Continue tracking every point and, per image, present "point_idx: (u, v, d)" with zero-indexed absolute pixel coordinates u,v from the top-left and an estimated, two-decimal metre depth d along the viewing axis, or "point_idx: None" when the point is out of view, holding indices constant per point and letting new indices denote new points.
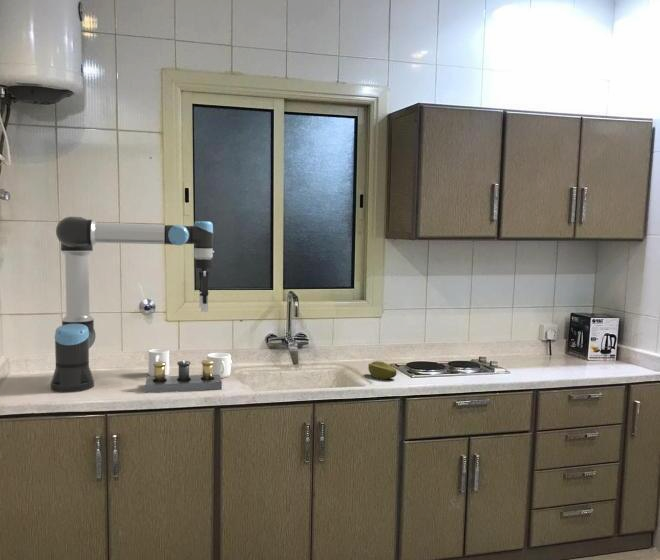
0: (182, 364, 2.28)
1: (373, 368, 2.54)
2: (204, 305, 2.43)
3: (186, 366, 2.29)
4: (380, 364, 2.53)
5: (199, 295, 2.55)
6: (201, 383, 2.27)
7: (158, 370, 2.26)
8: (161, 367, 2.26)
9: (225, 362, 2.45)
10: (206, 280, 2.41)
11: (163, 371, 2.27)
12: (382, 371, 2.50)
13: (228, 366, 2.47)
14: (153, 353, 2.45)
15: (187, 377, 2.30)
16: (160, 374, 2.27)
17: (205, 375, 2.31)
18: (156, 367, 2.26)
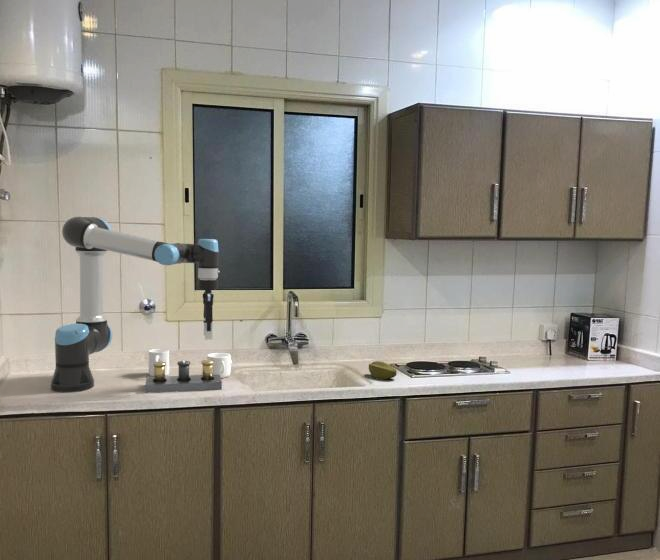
0: (182, 364, 2.28)
1: (373, 368, 2.54)
2: (208, 333, 2.27)
3: (186, 366, 2.29)
4: (380, 364, 2.53)
5: None
6: (201, 383, 2.27)
7: (158, 370, 2.26)
8: (161, 367, 2.26)
9: (225, 362, 2.45)
10: (211, 306, 2.24)
11: (163, 371, 2.27)
12: (382, 371, 2.50)
13: (228, 366, 2.47)
14: (153, 353, 2.45)
15: (187, 377, 2.30)
16: (160, 374, 2.27)
17: (205, 375, 2.31)
18: (156, 367, 2.26)
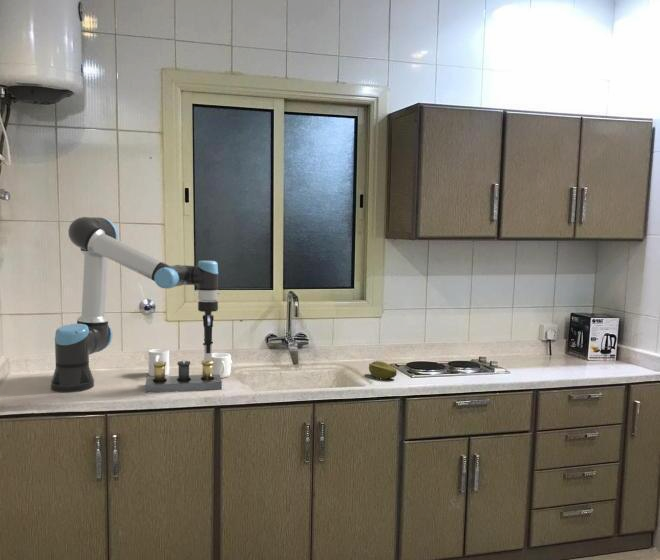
0: (182, 364, 2.28)
1: (373, 368, 2.54)
2: (208, 354, 2.32)
3: (186, 366, 2.29)
4: (380, 364, 2.53)
5: (204, 348, 2.32)
6: (201, 383, 2.27)
7: (158, 370, 2.26)
8: (161, 367, 2.26)
9: (225, 362, 2.45)
10: (211, 330, 2.27)
11: (163, 371, 2.27)
12: (382, 371, 2.50)
13: (228, 366, 2.47)
14: (153, 353, 2.45)
15: (187, 377, 2.30)
16: (160, 374, 2.27)
17: (205, 375, 2.31)
18: (156, 367, 2.26)
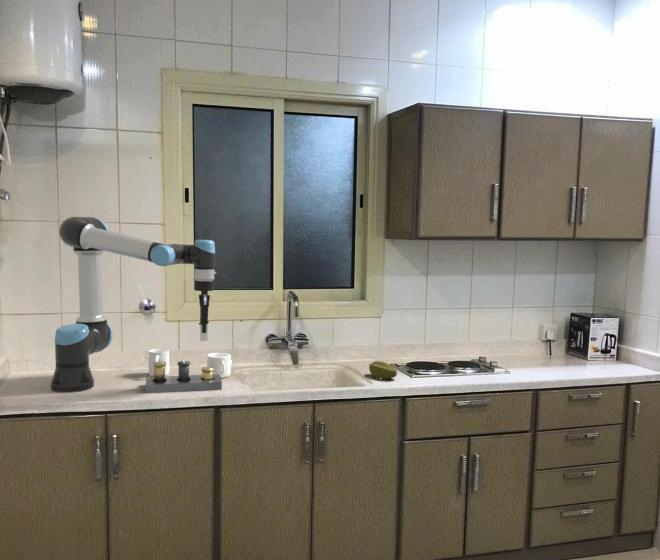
0: (182, 364, 2.28)
1: (373, 368, 2.54)
2: (203, 334, 2.31)
3: (186, 366, 2.29)
4: (380, 364, 2.53)
5: (200, 327, 2.31)
6: (201, 383, 2.27)
7: (158, 370, 2.26)
8: (161, 367, 2.26)
9: (225, 362, 2.45)
10: (207, 309, 2.26)
11: (163, 371, 2.27)
12: (382, 371, 2.50)
13: (228, 366, 2.47)
14: (153, 353, 2.45)
15: (187, 377, 2.30)
16: (160, 374, 2.27)
17: None
18: (156, 367, 2.26)
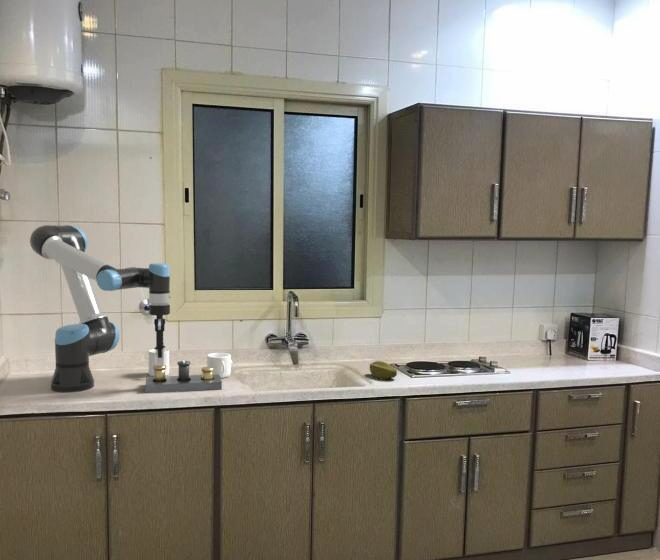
0: (182, 364, 2.28)
1: (374, 368, 2.54)
2: (159, 359, 2.27)
3: (186, 366, 2.29)
4: (381, 364, 2.53)
5: (156, 352, 2.27)
6: (201, 383, 2.27)
7: (158, 373, 2.26)
8: (161, 370, 2.27)
9: (225, 362, 2.45)
10: (161, 334, 2.22)
11: (163, 374, 2.27)
12: (382, 371, 2.50)
13: (228, 366, 2.47)
14: (153, 353, 2.45)
15: (187, 377, 2.30)
16: (160, 377, 2.27)
17: None
18: (156, 370, 2.26)
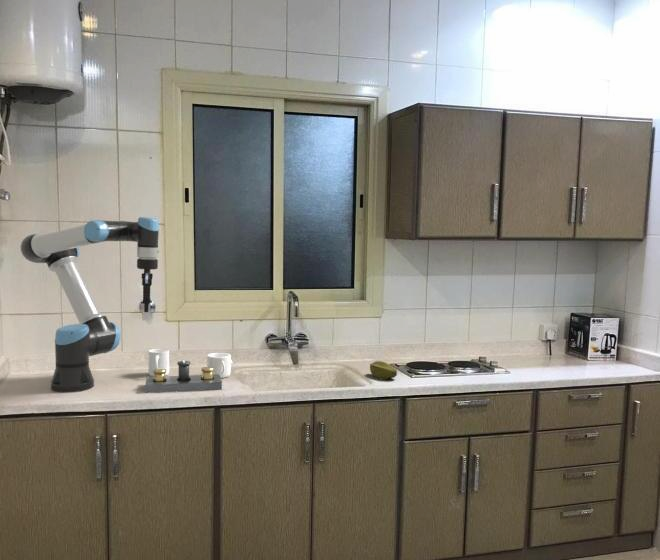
0: (182, 364, 2.28)
1: (374, 368, 2.54)
2: (146, 313, 2.27)
3: (186, 366, 2.29)
4: (381, 364, 2.53)
5: None
6: (201, 383, 2.27)
7: (158, 377, 2.26)
8: (161, 374, 2.27)
9: (225, 362, 2.45)
10: (148, 288, 2.22)
11: (163, 378, 2.27)
12: (382, 371, 2.50)
13: (228, 366, 2.47)
14: (153, 353, 2.45)
15: (187, 377, 2.30)
16: (160, 381, 2.27)
17: None
18: (156, 374, 2.26)
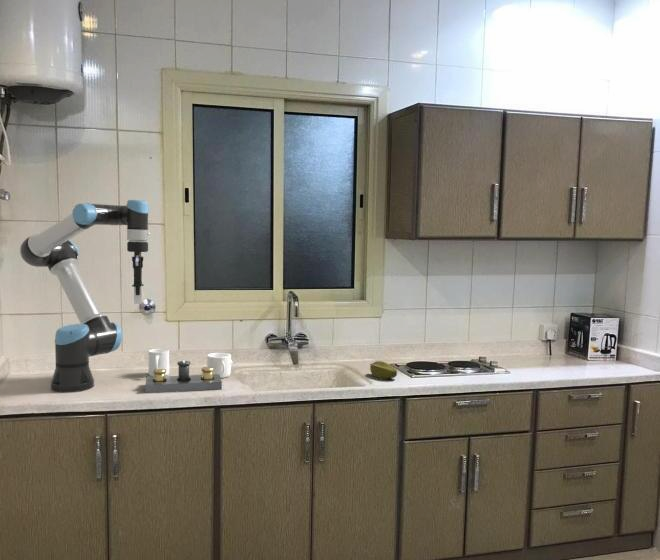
0: (182, 364, 2.28)
1: (374, 368, 2.54)
2: (137, 297, 2.26)
3: (186, 366, 2.29)
4: (381, 364, 2.53)
5: (134, 290, 2.26)
6: (201, 383, 2.27)
7: (158, 377, 2.26)
8: (161, 374, 2.27)
9: (225, 362, 2.45)
10: (139, 270, 2.21)
11: (163, 378, 2.27)
12: (382, 371, 2.50)
13: (228, 366, 2.47)
14: (153, 353, 2.45)
15: (187, 377, 2.30)
16: (160, 381, 2.27)
17: None
18: (156, 374, 2.26)
